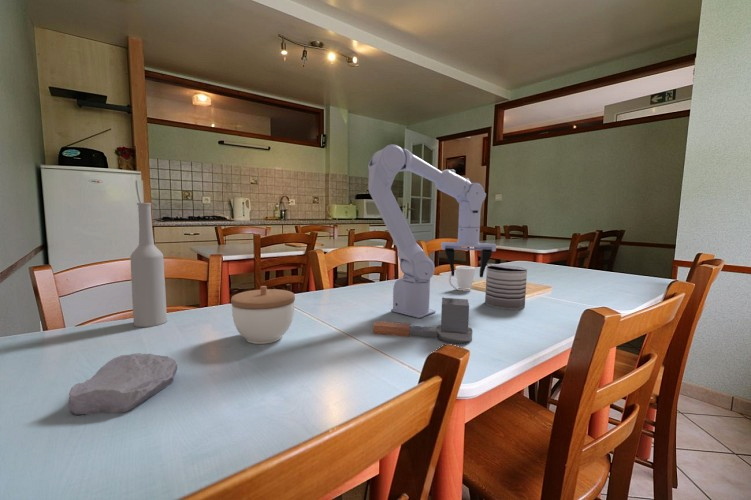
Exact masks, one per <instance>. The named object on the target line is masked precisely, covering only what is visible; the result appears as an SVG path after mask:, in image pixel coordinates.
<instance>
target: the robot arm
mask: <svg viewBox="0 0 751 500" xmlns="http://www.w3.org/2000/svg"><path fill="white" fill-rule="evenodd" d="M367 169H368V184H367V185H368V187H367V188H368V189H367V190H368V192H369V195H370V197H371V199H372V200H373V202H374V204H375V207H376V209H377V211H378V213H379V215H380V217H381V219H382V220H383V222H384V226H386V229H387V230H388V233H389V235H390V237H391V238H392V241H393V243H394V244H395V247H396V249H397V257H398V259H399V268H400V270H401V272H402V274H403V275H402V277H400V278H397V279H396V281H395V282H394V285H393V292H392V294H393V295H392V308H391V309H390V311H391V312H394V313H397V314H401V315H406V316H410V317H413V318H418V319H421V318H424V317H426V316H429V315H431V314H434V313H436V310H435V309H433V308H432V309H430V298H431V297H430V295H431V293H430V291H431V279H432V278H433V276H434V274H435V270H436V267H435V263H434V261H433V260H432V259H431V258H430V257H428V256H427V254H426V252H425V251H424V249H422V247H421V246H420V245H419V244H418V243H417V240H416V238H415V236H414V234H413V232H412V230H411V229H410V227H409V224H408V222H407V219H406V218H405V216H404V213H403V211H402V210H401V207H400V206H399V204H398V201H397V200H396V197H395V195H394V194H393V190H392V185H393V184H394V180H395V178H396V175H398V174H399V172H400V173H401V172H411V173H412V174H415V175H417V176H420V177H421V178H424V179H427V181H430V182H433V183H434V185H435V188H436V189H437V190H438V191H440V192H442V193H443V194H446V195H448V196H450V197H452V198H454V199H455V200H456V202H457V203H458V205H459V206H458V226H457V231H458V232H457V241H456V242H453V241H452V242H451V241H450V242H449V241H447V242H446V241H444V242H443V241H442V242H441V243H440V244H441V250H443V251H444V250H445V251H444V253H445V255H446V258H447V260H448V263H449V266H450V273H451V275H452V276H451V277H454V276H455V272H454V270H455V250H456V251H458V250H459V251H480V268H479V277H480V278H483V277H484V273H485V269H486V268H487V264H488V262H489V261H490V259H491V257H492V255H493V252H496V251H497V244H496V243H485V242H480V229H481V209H482V205H483V203H484V201H485V200H486V197H487V193H486V192H485V189H484V187H483V185H482V184H481V183H479V182H471V181H470V178H469V177H463V176H461V175H459V174H457V173H456V170H455V169H453V168H452V169H448V168H447V169H443V170H442V171H441V170H440V169H438V168H437V167H435V166H433V165H431V164H430V163H428V162H427V161H425V160H423V159H422V158H420V157H418V156H417V155H415V154H414V153H412V152H411V151H410V150H409V149H407V148H402V147H401V146H399V145H397V144H392V143H391V144H387V145H386V146H384V148H382V149H380V150H377V151H376V152H374V153H373V154H372V156H371V158H370V160H369V162H368V165H367Z"/></svg>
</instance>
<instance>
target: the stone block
mask: <svg viewBox="0 0 751 500" xmlns="http://www.w3.org/2000/svg"><path fill="white" fill-rule="evenodd" d="M177 371H178V364H177V361H176V360H175V359H174V358H171V357H168V356H166V355H164V356H163V355H157V354H154V353H131V354H122V355H118V356H117V357H113V358H112V359H110V360H109V361H107V362H106V363H105V364H104V365H102V366H101V367H100V368H99V369H98V370H97V371H96V373H95V374H94V375H93V376H92V377H91V378H89V379H87V380H85V381H84V382H77V383H76V384H74V385H73V386H72V387H71V388H70V390H69V394H68V403H67V407H68V409H69V411H70V412H71V413H72V414H73V415H74V416H79V415H87V416H89V415H95V414H96V415H97V414H100V413H101V414H102V413H108V414H109V413H111V414H121V413H127V412H129V411H131V410H133V409H134V408H135V407H138V406H139V405H140V404H142V403H144V402H145V401H147V400H148V399H149V398H152V397H153V396H155V395H157V394H158V393H160V392H161V391H163V390H165V388H167V387H168V386H170V385H172V383H174V379H175V375H176V373H177Z"/></svg>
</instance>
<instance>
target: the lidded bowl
mask: <svg viewBox="0 0 751 500" xmlns="http://www.w3.org/2000/svg"><path fill="white" fill-rule="evenodd" d="M295 300H296V295H295V293H294V292H292V291H290V290H285V289H277V288H273V289H272V288H267V285H261V286H260V289H253V290H246V291H242V292H238V293H236V294H234V295H232V296H231V298H230V304H231V312H232V314H231V315H232V321H233V324H234V326H235V329H236V331H237V332H238V334H239V335H240V336H242V337H243V338H244V339H245V340H246V342H247V343H250V344H254V345H266V344H271V343H275V342H278V341H280V340H281V339H282V338H283V336H284V335H285V334H286V333H287V331H288V330H289V329H290V327H291V325H292V323H293V319H294V314H295Z"/></svg>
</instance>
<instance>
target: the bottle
mask: <svg viewBox="0 0 751 500" xmlns="http://www.w3.org/2000/svg"><path fill="white" fill-rule="evenodd" d="M136 205H137V207H138V210H137V211H138V245H137V247H136V248H135V249H134V251H133V252H132V253H131V255H130V257H129V259H130V274H131V275H130V277H131V279H130V280H131V299H132V316H133V318H132V319H133V326H134V327H136V328H150V327H156V326H157V327H158V326H160V325H163V324H166V323H167V322H168V317H167V315H168V314H167V298H166V297H167V296H166V295H167V293H166V281H165V280H166V279H165V263H164V254H163V252H162V251H161V250H160V249H159V248H158V247H157V246H156V245H155V240H154V233H153V223H152V221H153V220H152V207H151V206H152V203H151V202H137V203H136Z"/></svg>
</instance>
